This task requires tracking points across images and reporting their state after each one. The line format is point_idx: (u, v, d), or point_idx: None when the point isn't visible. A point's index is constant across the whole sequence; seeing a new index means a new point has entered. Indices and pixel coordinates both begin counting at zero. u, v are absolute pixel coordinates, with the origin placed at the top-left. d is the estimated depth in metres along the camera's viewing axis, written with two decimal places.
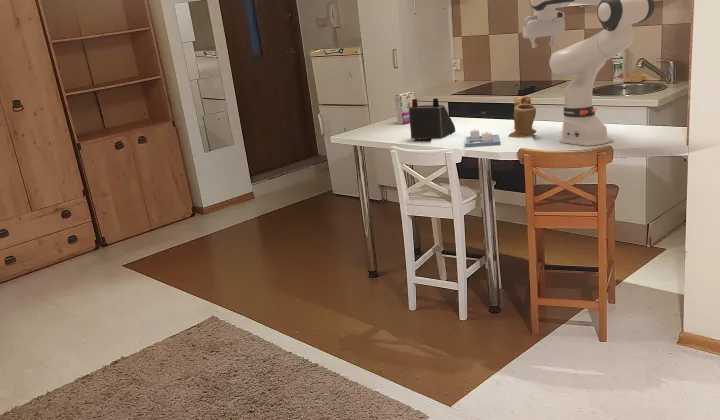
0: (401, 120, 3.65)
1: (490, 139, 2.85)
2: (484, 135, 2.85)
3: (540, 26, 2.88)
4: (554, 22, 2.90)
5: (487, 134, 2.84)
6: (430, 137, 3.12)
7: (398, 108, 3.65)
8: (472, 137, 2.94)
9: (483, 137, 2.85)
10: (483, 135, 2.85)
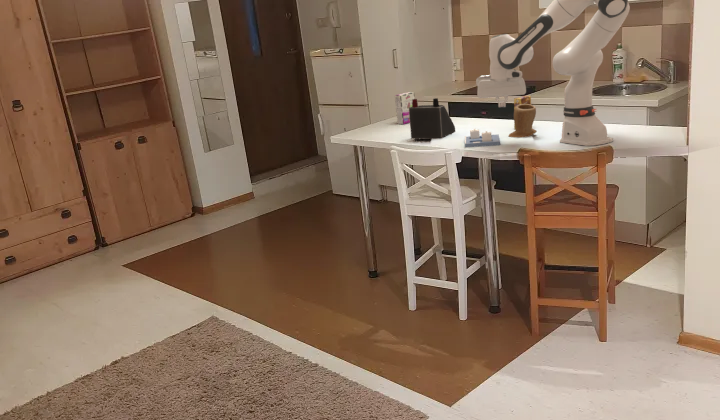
0: (401, 120, 3.65)
1: (490, 139, 2.85)
2: (484, 135, 2.85)
3: (493, 85, 2.78)
4: (511, 82, 2.76)
5: (487, 134, 2.84)
6: (430, 137, 3.12)
7: (398, 108, 3.65)
8: (472, 137, 2.94)
9: (483, 137, 2.85)
10: (483, 135, 2.85)
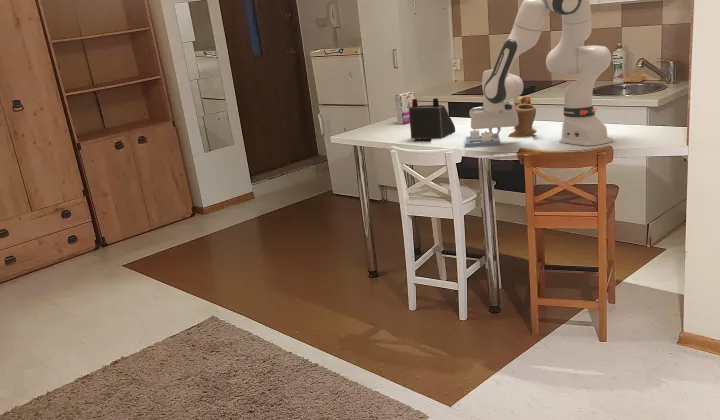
0: (401, 120, 3.65)
1: (489, 139, 2.85)
2: (483, 135, 2.85)
3: (486, 117, 2.82)
4: (504, 114, 2.80)
5: (486, 134, 2.84)
6: (430, 137, 3.12)
7: (398, 108, 3.65)
8: (472, 137, 2.94)
9: (482, 137, 2.85)
10: (482, 135, 2.85)
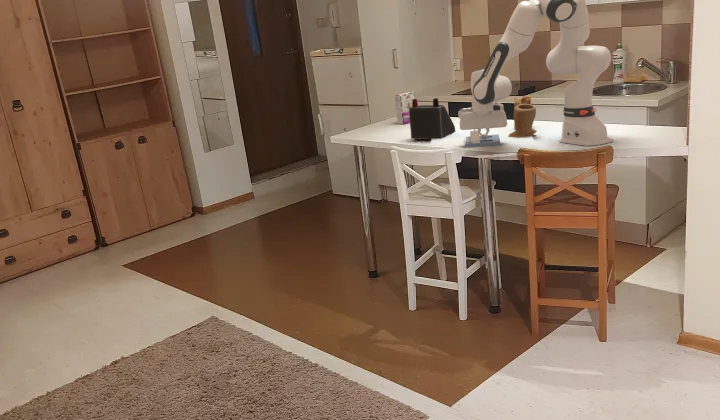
0: (401, 120, 3.65)
1: (478, 140, 2.86)
2: (472, 136, 2.85)
3: (475, 118, 2.83)
4: (492, 115, 2.81)
5: (475, 135, 2.85)
6: (430, 137, 3.12)
7: (398, 108, 3.65)
8: None
9: (471, 138, 2.86)
10: (471, 136, 2.85)
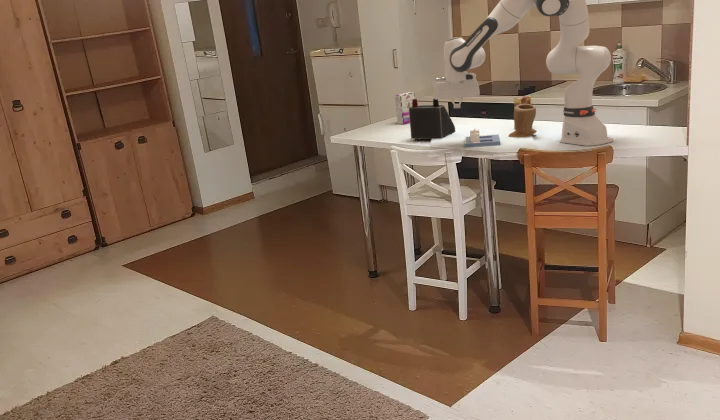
0: (401, 120, 3.65)
1: (478, 140, 2.86)
2: (472, 136, 2.85)
3: (448, 87, 2.88)
4: (465, 84, 2.86)
5: (475, 135, 2.85)
6: (430, 137, 3.12)
7: (398, 108, 3.65)
8: None
9: (471, 138, 2.86)
10: (471, 136, 2.85)
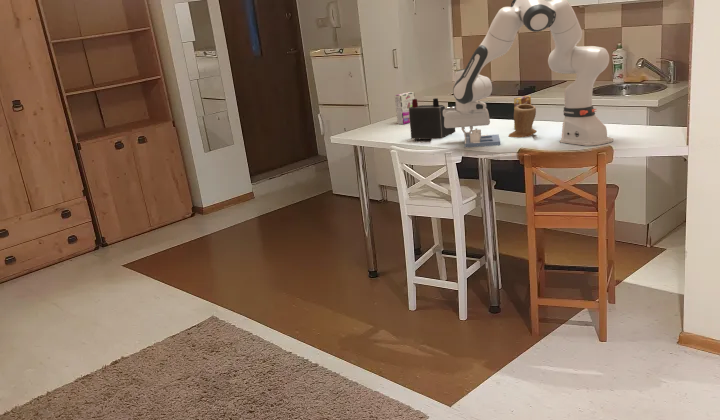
0: (401, 120, 3.65)
1: (478, 140, 2.86)
2: (472, 136, 2.85)
3: (459, 116, 2.92)
4: (475, 113, 2.90)
5: (475, 135, 2.85)
6: (430, 137, 3.12)
7: (398, 108, 3.65)
8: None
9: (471, 138, 2.86)
10: (471, 136, 2.85)
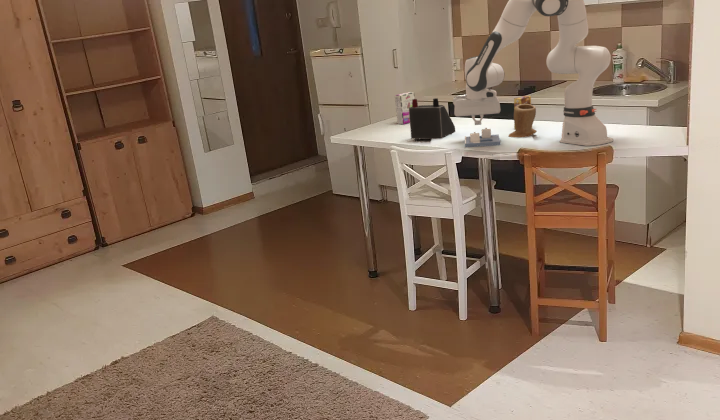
0: (401, 120, 3.65)
1: (478, 140, 2.86)
2: (472, 136, 2.85)
3: (469, 105, 2.91)
4: (486, 101, 2.89)
5: (475, 135, 2.85)
6: (430, 137, 3.12)
7: (398, 108, 3.65)
8: (484, 136, 2.93)
9: (471, 138, 2.86)
10: (471, 136, 2.85)
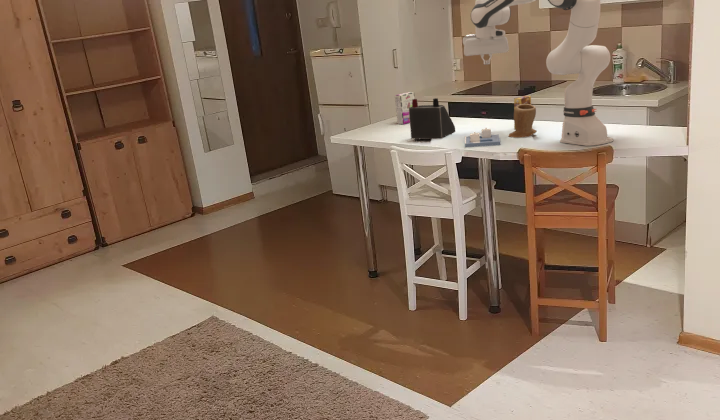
0: (401, 120, 3.65)
1: (478, 140, 2.86)
2: (472, 136, 2.85)
3: (478, 44, 2.99)
4: (495, 40, 2.97)
5: (475, 135, 2.85)
6: (430, 137, 3.12)
7: (398, 108, 3.65)
8: (484, 136, 2.93)
9: (471, 138, 2.86)
10: (471, 136, 2.85)
